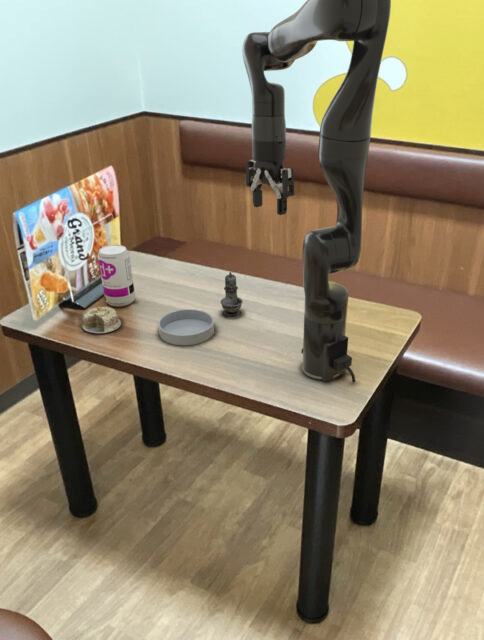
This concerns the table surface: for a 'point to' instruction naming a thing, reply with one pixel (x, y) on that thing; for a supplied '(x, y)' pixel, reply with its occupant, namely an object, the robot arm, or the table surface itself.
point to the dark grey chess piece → (231, 298)
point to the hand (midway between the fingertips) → (269, 210)
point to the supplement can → (116, 275)
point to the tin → (186, 327)
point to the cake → (100, 320)
